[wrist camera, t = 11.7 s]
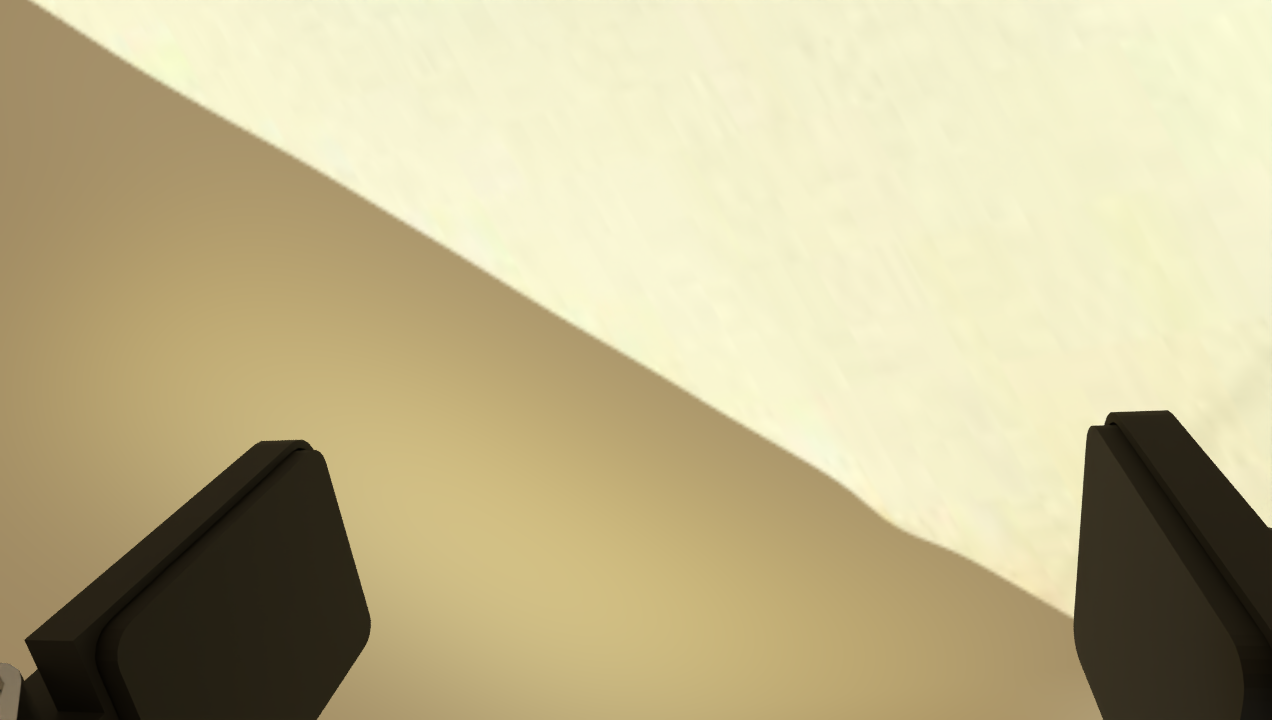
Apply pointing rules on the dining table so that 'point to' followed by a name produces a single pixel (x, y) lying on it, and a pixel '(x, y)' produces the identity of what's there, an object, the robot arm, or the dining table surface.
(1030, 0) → the dining table surface
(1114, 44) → the dining table surface
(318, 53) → the dining table surface
